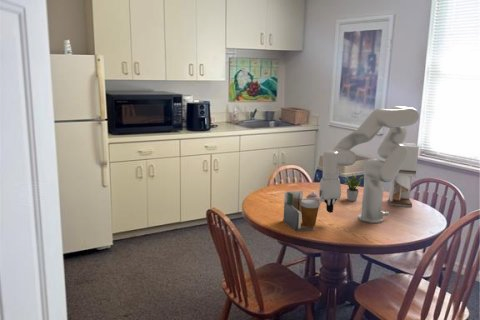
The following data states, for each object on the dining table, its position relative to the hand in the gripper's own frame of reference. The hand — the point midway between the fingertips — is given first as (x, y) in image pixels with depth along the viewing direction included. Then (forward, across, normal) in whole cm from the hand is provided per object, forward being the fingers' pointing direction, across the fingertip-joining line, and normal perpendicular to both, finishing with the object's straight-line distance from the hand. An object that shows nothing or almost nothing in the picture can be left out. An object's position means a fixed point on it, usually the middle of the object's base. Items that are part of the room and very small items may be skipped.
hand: (329, 211), depth 202 cm
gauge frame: (+5, +16, 0) cm, 17 cm away
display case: (+9, -56, -20) cm, 61 cm away
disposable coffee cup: (+5, +11, 0) cm, 13 cm away
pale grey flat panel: (+5, +19, 0) cm, 20 cm away
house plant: (+8, -32, -31) cm, 46 cm away
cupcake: (+6, -1, -22) cm, 23 cm away
